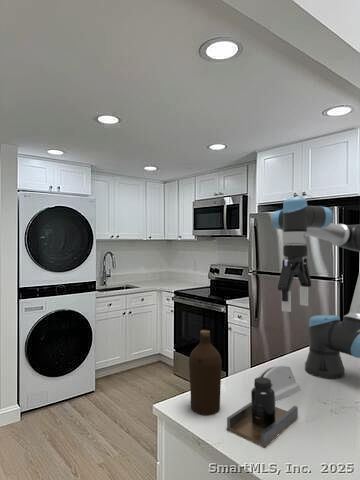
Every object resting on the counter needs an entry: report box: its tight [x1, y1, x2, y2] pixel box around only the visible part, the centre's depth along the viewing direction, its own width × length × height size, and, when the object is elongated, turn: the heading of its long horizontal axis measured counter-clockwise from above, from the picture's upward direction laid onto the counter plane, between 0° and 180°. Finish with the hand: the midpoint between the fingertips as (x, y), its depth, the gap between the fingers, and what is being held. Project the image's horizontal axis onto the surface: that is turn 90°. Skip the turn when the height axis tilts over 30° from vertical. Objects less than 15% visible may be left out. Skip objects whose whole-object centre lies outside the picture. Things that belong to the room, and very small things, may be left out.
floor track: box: [226, 402, 299, 448], centre depth 99 cm, size 20×12×4 cm, turn 136°
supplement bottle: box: [250, 376, 276, 426], centre depth 99 cm, size 7×7×12 cm
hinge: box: [258, 365, 302, 403], centre depth 119 cm, size 17×5×10 cm, turn 127°
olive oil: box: [188, 329, 223, 416], centre depth 109 cm, size 11×11×25 cm
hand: (295, 308), depth 112 cm, fingers open, 13 cm apart
